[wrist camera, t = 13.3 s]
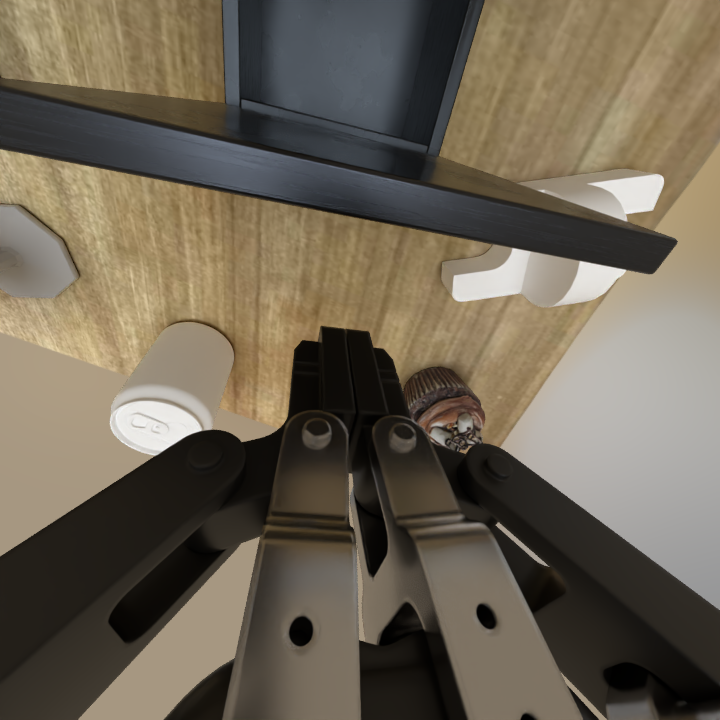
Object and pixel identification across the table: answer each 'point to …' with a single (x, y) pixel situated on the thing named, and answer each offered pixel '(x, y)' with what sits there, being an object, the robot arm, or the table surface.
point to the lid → (310, 170)
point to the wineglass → (32, 256)
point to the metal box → (351, 64)
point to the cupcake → (445, 408)
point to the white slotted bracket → (550, 273)
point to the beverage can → (173, 388)
